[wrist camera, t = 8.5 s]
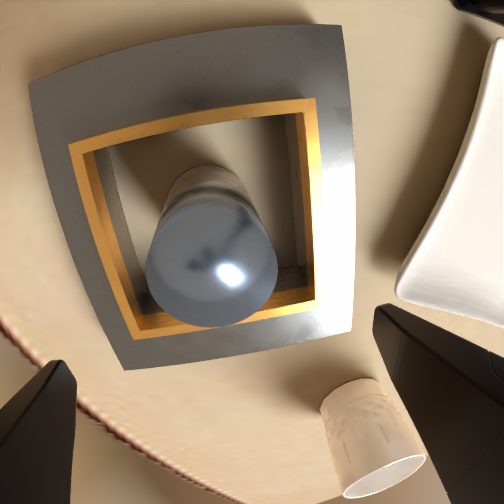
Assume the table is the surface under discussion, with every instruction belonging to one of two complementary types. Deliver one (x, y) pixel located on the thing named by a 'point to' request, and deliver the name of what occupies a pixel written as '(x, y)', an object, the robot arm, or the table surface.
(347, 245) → the grey and gold frame
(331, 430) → the white cup
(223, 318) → the can
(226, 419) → the table surface
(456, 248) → the salad plate
